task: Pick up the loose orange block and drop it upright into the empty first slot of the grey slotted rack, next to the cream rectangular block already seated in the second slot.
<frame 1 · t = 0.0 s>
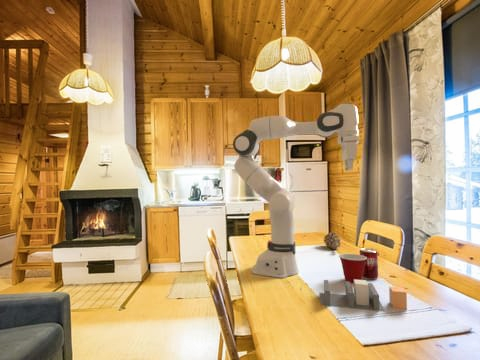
hand: (348, 170, 119), 48 cm above the table, tool pointing down, fingers open, 8 cm apart
orange block: (398, 310, 88), on the table
soda can: (369, 277, 117), on the table
grey slotted rack: (349, 305, 91), on the table
cream rectangular block: (361, 302, 90), point 1 cm above the table, touching grey slotted rack
plastic cup: (353, 284, 110), on the table
pine cone: (334, 250, 163), on the table
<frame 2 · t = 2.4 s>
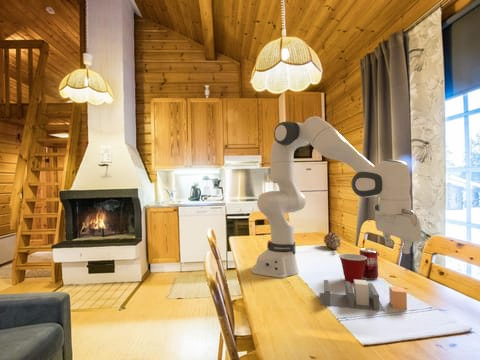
hand: (396, 249, 87), 20 cm above the table, tool pointing down, fingers open, 8 cm apart
nothing on the table moved.
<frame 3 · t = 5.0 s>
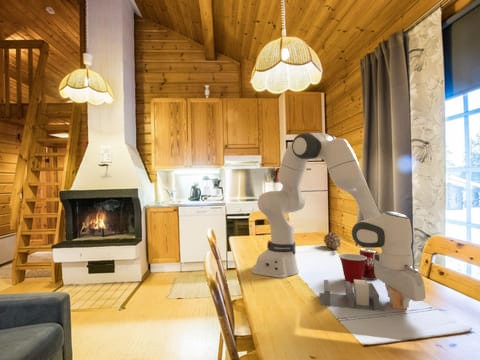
hand: (397, 302, 88), 3 cm above the table, tool pointing down, fingers closed on orange block, 5 cm apart
orange block: (398, 310, 88), on the table, touching gripper
everything else where it was.
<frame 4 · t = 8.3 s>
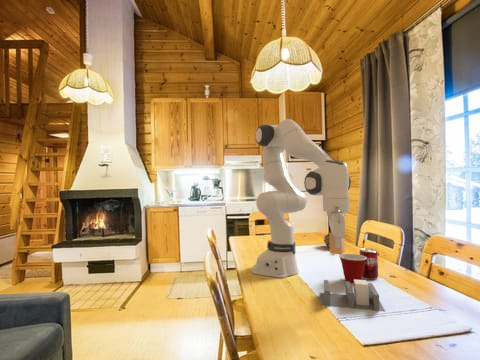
hand: (337, 245, 92), 21 cm above the table, tool pointing down, fingers closed on orange block, 5 cm apart
orange block: (337, 252, 92), point 18 cm above the table, touching gripper
everything else where it was.
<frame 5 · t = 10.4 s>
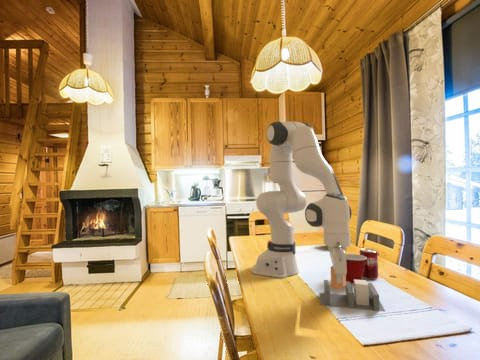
hand: (338, 279, 92), 9 cm above the table, tool pointing down, fingers closed on orange block, 5 cm apart
orange block: (338, 286, 92), point 6 cm above the table, touching gripper
everything else where it was.
when the fingers open (6 cm above the table, at t = 11.9 s): orange block drops 2 cm, resting on grey slotted rack.
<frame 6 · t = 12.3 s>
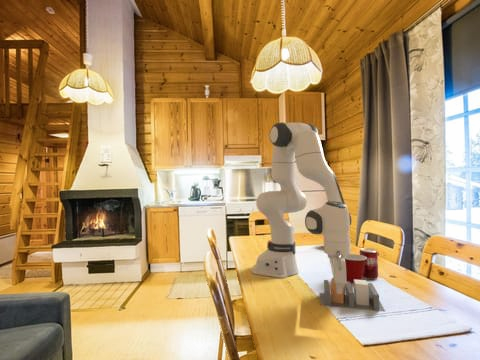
hand: (337, 287, 92), 6 cm above the table, tool pointing down, fingers open, 8 cm apart
orange block: (338, 300, 93), point 1 cm above the table, touching grey slotted rack
everything else where it was.
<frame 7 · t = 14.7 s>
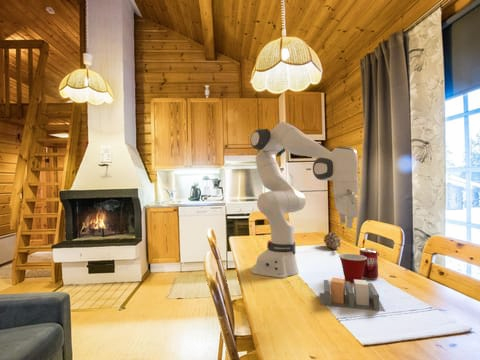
hand: (346, 225, 100), 26 cm above the table, tool pointing down, fingers open, 8 cm apart
nothing on the table moved.
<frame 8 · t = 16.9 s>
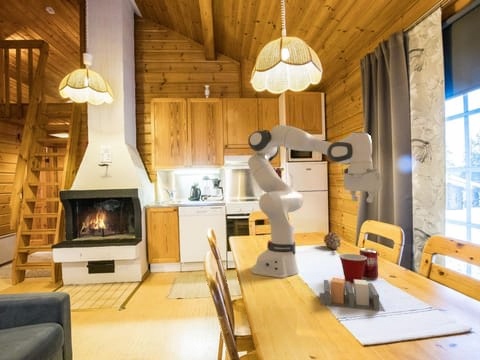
hand: (362, 201, 113), 34 cm above the table, tool pointing down, fingers open, 8 cm apart
nothing on the table moved.
at the end: orange block 0.1 cm from the target spot on the grey slotted rack, point 1.5 cm above the grey slotted rack's base; orange block tilted 0°; cream rectangular block moved 0.0 cm from its start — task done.
